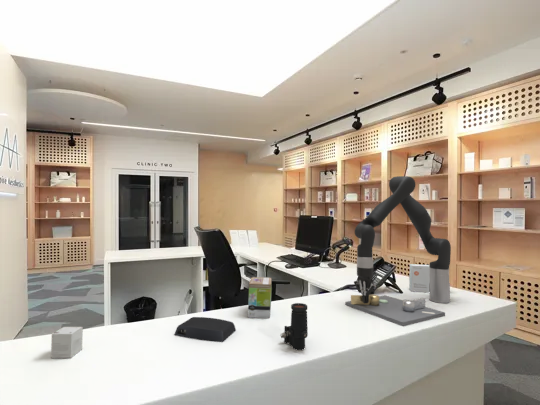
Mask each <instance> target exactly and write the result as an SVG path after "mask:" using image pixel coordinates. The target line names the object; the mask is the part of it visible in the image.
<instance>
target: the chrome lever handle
mask: <svg viewBox="0 0 540 405" xmlns="http://www.w3.org/2000/svg"><path fill="white" fill-rule="evenodd" d="M402 300H403V310H404V311H408V312H414V311H415V310H416V309H420V308H425V307H426V298H423V297H421V298H415V299H411V300H410V299H402Z"/></svg>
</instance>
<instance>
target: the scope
mask: <svg viewBox="0 0 540 405" xmlns="http://www.w3.org/2000/svg"><path fill="white" fill-rule="evenodd" d="M290 308H291V313H290V314H291V315H290V316H291V317H290V325H284V328H283V330H284V331H283V332H281V335H280V338H281V339H284V340H283V342H284V343H285V345H286V344H287V343H288V344H289V345H290V346H291V345H292V346H291V347H292V349H293V350H296V349H297V350H296V351H303V350H305V349H304V348H306V339H307V338H308V335H309V334H308V311H307V310H308V304H306V303H304V302H303V303H302V302H295V303H292V304H291V305H290ZM288 344H287V345H288ZM302 349H303V350H302Z"/></svg>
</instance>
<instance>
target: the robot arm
mask: <svg viewBox="0 0 540 405" xmlns="http://www.w3.org/2000/svg"><path fill="white" fill-rule="evenodd" d="M388 182H389V183H388V188H389V190H390V191H391V193H392V194H391V195H390V196H389V197H387V198H385V199H384V200H383V201H381V202H379V203H378V204H377V205H376V206H374V208H373V209H372V210H371V212H370V213H369V214H368V216H366V217H365V218H363V220H361V221H360V222H359V223H358V224H357V225H356V226H355V229H354V235H355V236H356V238H358V239H360V244H358V245H357V249H356V256H357V258H356V276H357V279H356V280H354V281H353V284H354V286H355V288H356V289H357V292H358V293H359V294H360V295H362V301H363V303H365V304H366V303H368V302H369V295H372V294H373V295H374V293H375V291H376V289H377V288H378V285H377V284H375V283H374V280H373V277H374V259H373V258H374V257H373V247H374V243H375V238H376V231H375V228H376V227H378V226H381V224H382V223H383V222H384V221H385V220H386V219H387V217H388V216H389V214H390V213H392V211H393V210H394V209H395V208H397V206H399V204H400V205H401V207H402V209H403V210H404V212H405V213H406V215H407V216H408V218H409V221H410V222H411V224H412V225H413V227H414V228H415V230H416V232H417V233H418V236H419V237H420V239H421V242H422V244H423V246H424V248H425V250H426V251H427V253H428V254H429V255H433V256H437V259H436V260H434V261H430V262H429V264H428V265H429V267H430V268H429V272H430V293H429V300H430V301H431V302H433V303H434V302H435V303H440V304H449V303H450V302H451V284H450V265H451V253H452V247H451V243H450V240H449V239H447V238H440V237H439V238H438V237H434V236H433V234H432V233H431V231H430V230H431V226H432V218H431V216H430V214H429V212H428V211H427V209H426V207H424V205H422V204H421V203H420V202H419V201H418V200H416V199H415V198H414V197H413V196H412V193H413V192H414V190H415V189H416V181H415V179H414V178H413V177H412V176H407V175H404V176H399V175H398V176H394V177H392V178H390V180H389V181H388Z"/></svg>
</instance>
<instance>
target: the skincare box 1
mask: <svg viewBox="0 0 540 405" xmlns="http://www.w3.org/2000/svg"><path fill="white" fill-rule="evenodd" d="M83 329H84V328H83V326H62V327H61V328H60V329H58V330H56V331H54V332H52V333H51V346H50V348H51V349H50V351H51V352H50V359H72V358H73V357H74V356H75V355H77V354H78V353H79V352H81V351H82V350H83V331H84V330H83Z"/></svg>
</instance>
